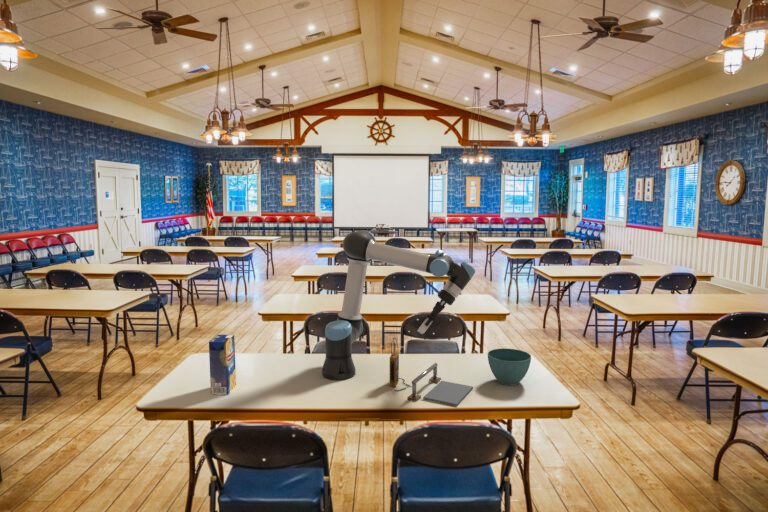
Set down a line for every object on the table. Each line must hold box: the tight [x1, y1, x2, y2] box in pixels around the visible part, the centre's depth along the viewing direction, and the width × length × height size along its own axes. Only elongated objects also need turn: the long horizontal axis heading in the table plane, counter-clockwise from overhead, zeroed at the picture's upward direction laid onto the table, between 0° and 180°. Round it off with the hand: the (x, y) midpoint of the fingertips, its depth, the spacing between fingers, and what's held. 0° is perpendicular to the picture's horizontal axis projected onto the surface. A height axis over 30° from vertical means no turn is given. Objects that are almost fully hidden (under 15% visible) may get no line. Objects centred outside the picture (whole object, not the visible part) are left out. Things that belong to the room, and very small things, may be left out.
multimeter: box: [389, 337, 412, 392], centre depth 210 cm, size 15×10×20 cm
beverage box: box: [208, 334, 237, 396], centre depth 204 cm, size 7×11×22 cm, turn 0°
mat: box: [422, 380, 474, 407], centre depth 202 cm, size 14×20×1 cm
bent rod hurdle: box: [407, 362, 442, 402], centre depth 206 cm, size 4×26×8 cm, turn 152°
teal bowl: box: [487, 348, 532, 386], centre depth 215 cm, size 18×18×12 cm
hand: (420, 332), depth 215 cm, fingers open, 13 cm apart
